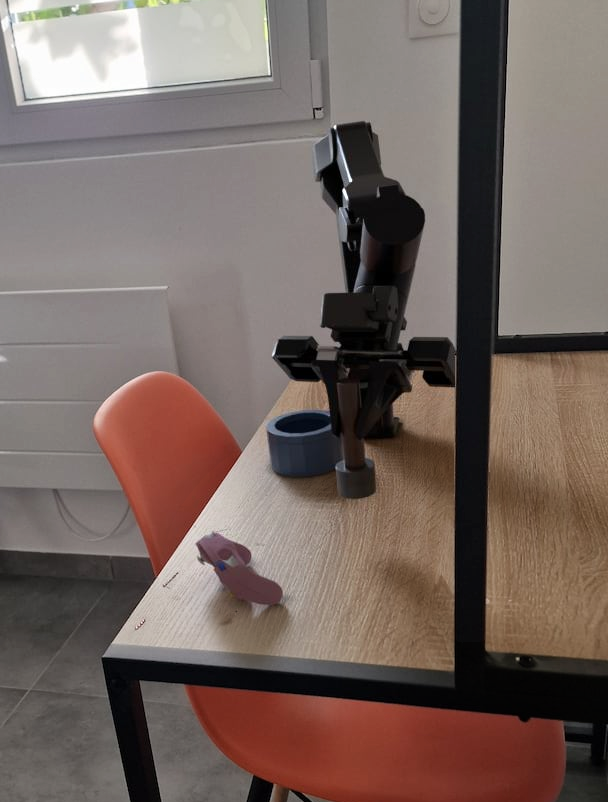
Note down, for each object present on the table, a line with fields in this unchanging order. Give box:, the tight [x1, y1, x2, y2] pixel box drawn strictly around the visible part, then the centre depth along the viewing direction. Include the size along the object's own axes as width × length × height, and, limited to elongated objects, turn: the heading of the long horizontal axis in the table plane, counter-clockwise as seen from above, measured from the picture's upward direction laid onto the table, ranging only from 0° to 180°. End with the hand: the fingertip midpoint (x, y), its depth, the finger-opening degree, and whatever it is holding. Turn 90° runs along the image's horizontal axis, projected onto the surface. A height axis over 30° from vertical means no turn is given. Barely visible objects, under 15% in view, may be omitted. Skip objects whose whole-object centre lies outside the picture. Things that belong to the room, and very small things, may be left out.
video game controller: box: [195, 530, 284, 606], centre depth 79 cm, size 10×5×7 cm, turn 21°
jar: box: [265, 409, 344, 478], centre depth 106 cm, size 9×9×6 cm
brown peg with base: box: [335, 378, 377, 500], centre depth 83 cm, size 4×4×12 cm
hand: (346, 437), depth 82 cm, fingers closed on brown peg with base, 2 cm apart
